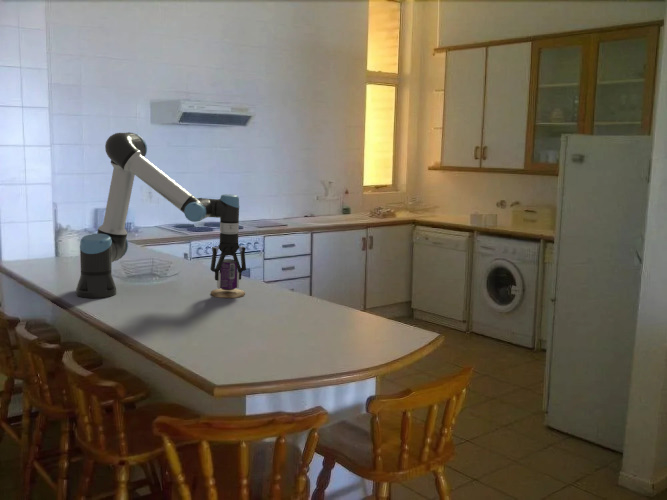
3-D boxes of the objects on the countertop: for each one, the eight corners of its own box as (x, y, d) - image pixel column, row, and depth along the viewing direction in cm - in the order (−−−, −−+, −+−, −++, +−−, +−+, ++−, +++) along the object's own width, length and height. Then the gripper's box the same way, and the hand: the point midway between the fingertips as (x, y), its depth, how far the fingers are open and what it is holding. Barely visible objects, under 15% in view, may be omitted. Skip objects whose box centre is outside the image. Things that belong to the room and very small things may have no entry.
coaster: (214, 298, 278) (214, 296, 278) (207, 290, 290) (207, 288, 290) (248, 297, 283) (248, 295, 283) (240, 289, 296) (240, 287, 296)
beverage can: (238, 287, 289) (239, 259, 287) (234, 291, 282) (235, 262, 280) (221, 286, 290) (222, 258, 288) (217, 290, 283) (217, 261, 281)
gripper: (206, 234, 275) (205, 290, 279) (255, 233, 283) (253, 288, 286) (202, 231, 282) (202, 286, 286) (250, 231, 289) (249, 284, 293)
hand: (227, 287), depth 286 cm, fingers closed on beverage can, 7 cm apart
